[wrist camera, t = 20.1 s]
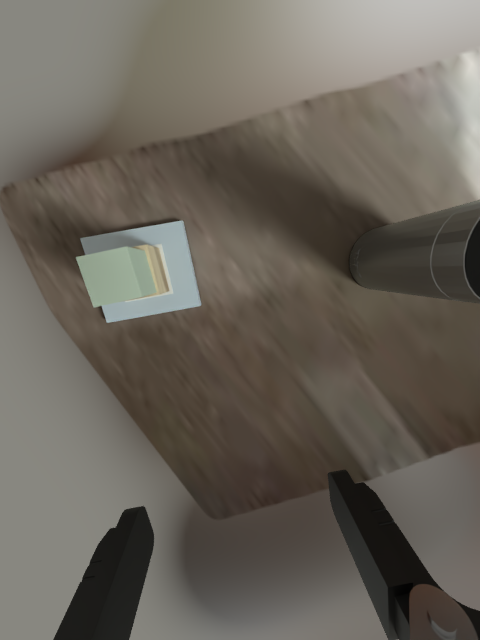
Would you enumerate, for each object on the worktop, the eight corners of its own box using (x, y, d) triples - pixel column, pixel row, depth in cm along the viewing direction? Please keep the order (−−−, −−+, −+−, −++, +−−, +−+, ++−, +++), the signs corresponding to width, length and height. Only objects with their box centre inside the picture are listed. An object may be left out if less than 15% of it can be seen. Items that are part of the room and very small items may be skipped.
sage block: (144, 250, 27) (126, 246, 22) (156, 292, 28) (142, 297, 23) (103, 259, 27) (75, 257, 22) (116, 300, 28) (93, 307, 23)
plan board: (183, 221, 32) (182, 220, 31) (201, 304, 35) (200, 305, 34) (84, 239, 32) (79, 238, 30) (110, 321, 34) (106, 323, 33)
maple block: (159, 248, 31) (146, 244, 27) (169, 291, 33) (159, 294, 28) (116, 255, 31) (95, 253, 26) (128, 298, 33) (111, 303, 28)
